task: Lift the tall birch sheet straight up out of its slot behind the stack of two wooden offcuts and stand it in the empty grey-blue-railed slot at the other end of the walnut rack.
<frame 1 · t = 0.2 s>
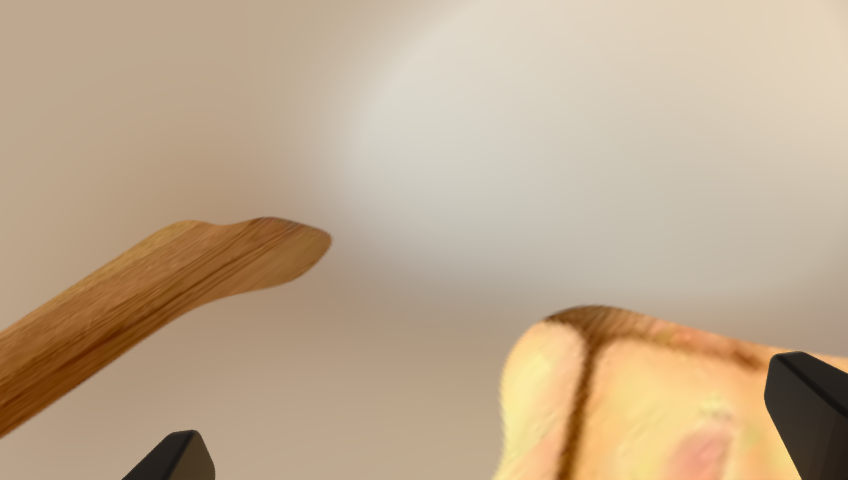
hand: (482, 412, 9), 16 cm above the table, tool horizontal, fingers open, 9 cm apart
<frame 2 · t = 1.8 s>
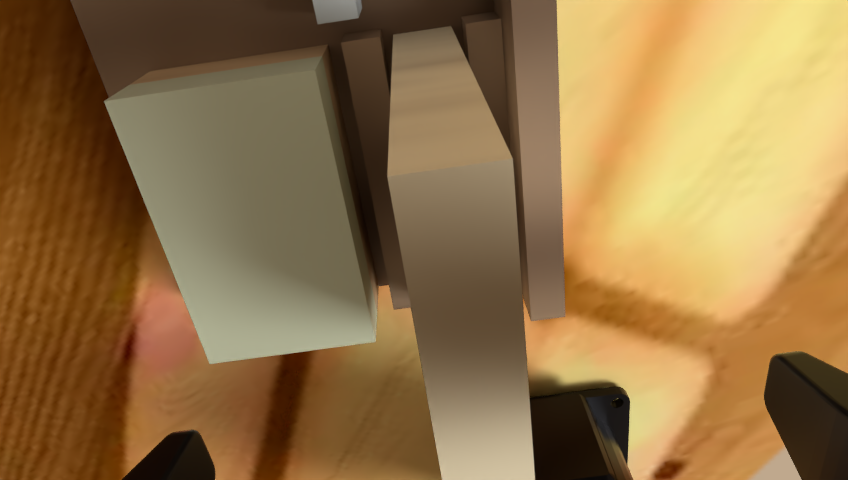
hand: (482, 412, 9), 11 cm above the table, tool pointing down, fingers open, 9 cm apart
oak offcut: (275, 189, 18), point 1 cm above the table, touching sage offcut, walnut rack
birch sheet: (440, 165, 18), point 1 cm above the table, touching walnut rack
sage offcut: (266, 210, 17), point 2 cm above the table, touching oak offcut
walnut rack: (314, 21, 17), on the table
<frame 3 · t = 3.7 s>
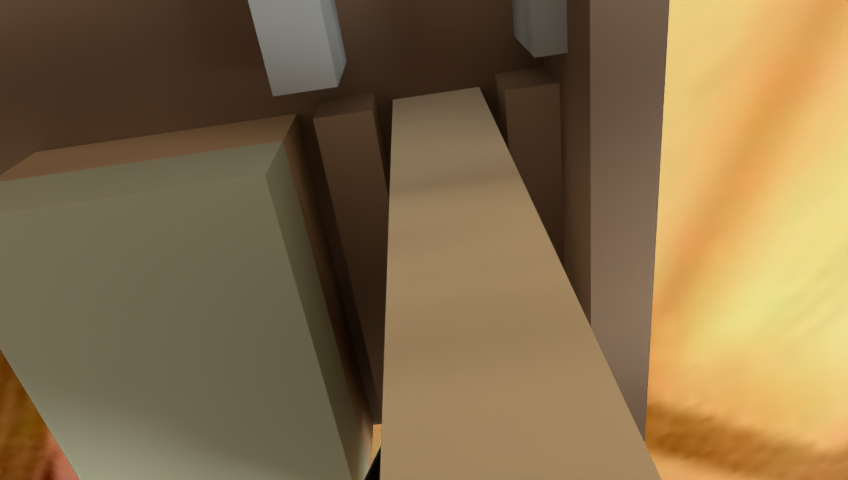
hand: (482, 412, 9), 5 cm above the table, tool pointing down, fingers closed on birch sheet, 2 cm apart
oak offcut: (227, 307, 13), point 1 cm above the table, touching sage offcut, walnut rack
birch sheet: (459, 275, 13), point 1 cm above the table, touching gripper, walnut rack
sage offcut: (208, 351, 12), point 2 cm above the table, touching oak offcut
walnut rack: (278, 77, 12), on the table
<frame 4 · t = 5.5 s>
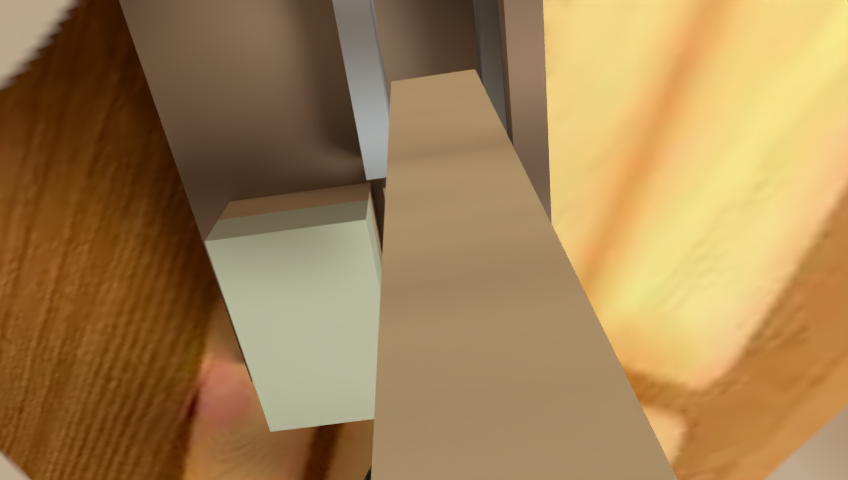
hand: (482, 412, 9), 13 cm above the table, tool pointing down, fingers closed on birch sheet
oak offcut: (323, 288, 23), point 1 cm above the table, touching sage offcut, walnut rack
birch sheet: (456, 256, 13), point 9 cm above the table, touching gripper
sage offcut: (319, 310, 21), point 2 cm above the table, touching oak offcut
walnut rack: (358, 160, 21), on the table
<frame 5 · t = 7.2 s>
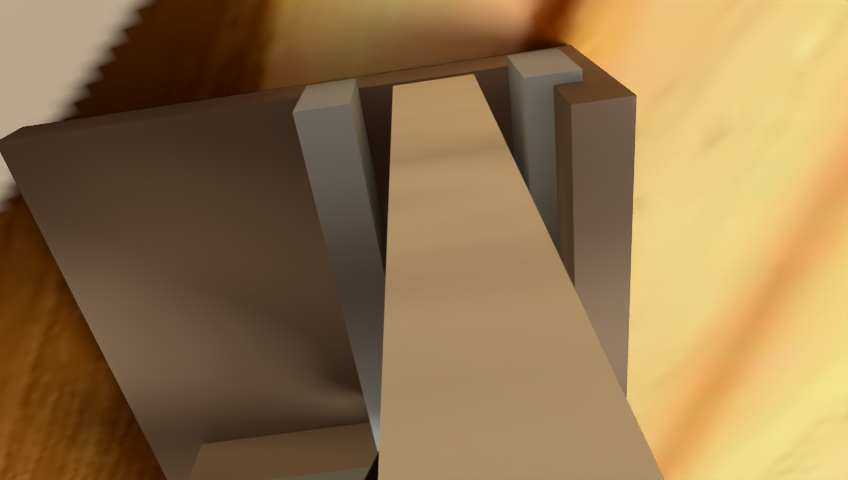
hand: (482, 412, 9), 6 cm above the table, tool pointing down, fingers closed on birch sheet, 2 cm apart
birch sheet: (455, 254, 14), point 1 cm above the table, touching gripper
walnut rack: (365, 383, 17), on the table
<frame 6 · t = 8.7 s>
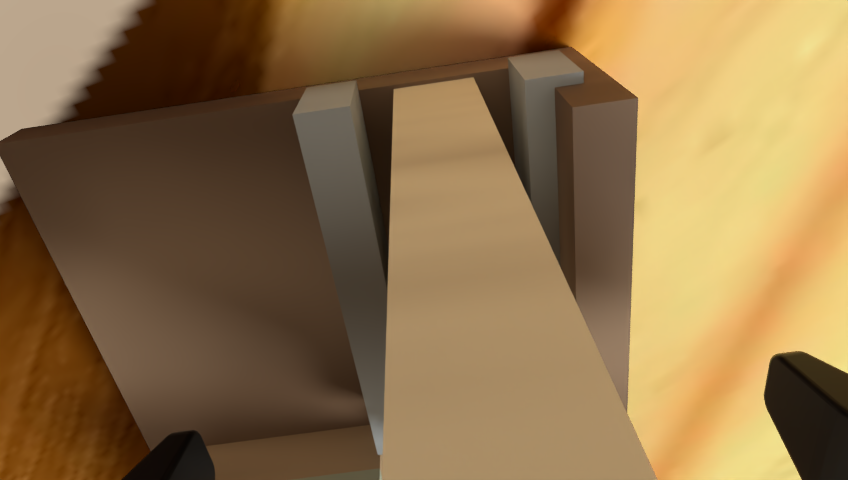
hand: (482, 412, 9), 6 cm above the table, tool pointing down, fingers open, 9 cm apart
birch sheet: (455, 255, 14), point 1 cm above the table, touching walnut rack
walnut rack: (365, 386, 17), on the table
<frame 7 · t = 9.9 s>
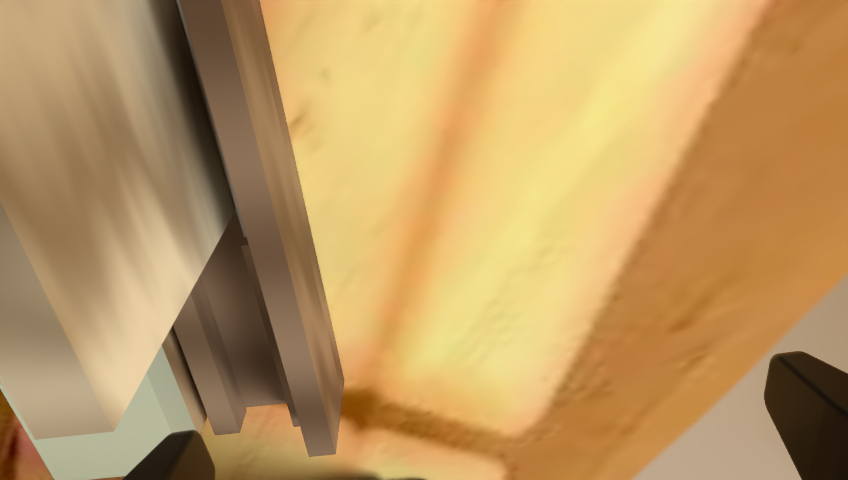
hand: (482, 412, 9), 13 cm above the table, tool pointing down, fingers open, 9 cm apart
oak offcut: (117, 342, 23), point 1 cm above the table, touching sage offcut, walnut rack
birch sheet: (177, 100, 19), point 1 cm above the table, touching walnut rack
sage offcut: (100, 367, 22), point 2 cm above the table, touching oak offcut
walnut rack: (141, 221, 22), on the table
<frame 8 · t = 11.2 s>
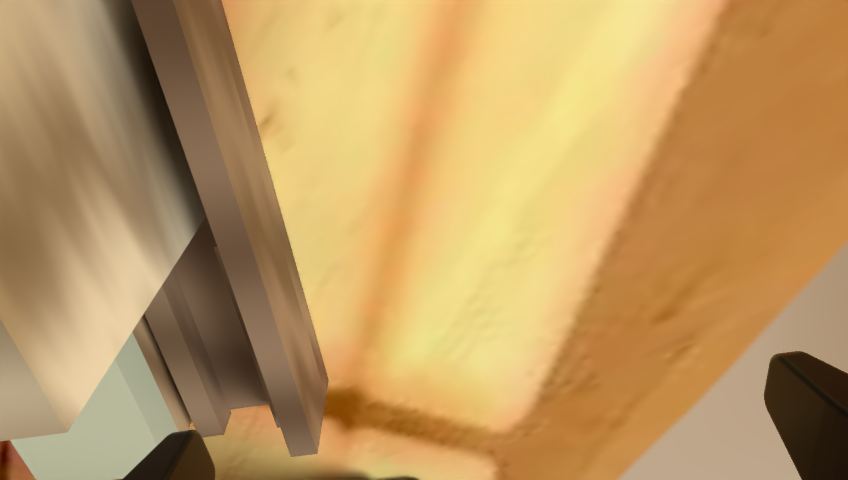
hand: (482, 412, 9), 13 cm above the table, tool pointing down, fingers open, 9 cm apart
oak offcut: (99, 347, 23), point 1 cm above the table, touching sage offcut, walnut rack
birch sheet: (143, 104, 19), point 1 cm above the table, touching walnut rack
sage offcut: (81, 373, 22), point 2 cm above the table, touching oak offcut
walnut rack: (118, 226, 22), on the table
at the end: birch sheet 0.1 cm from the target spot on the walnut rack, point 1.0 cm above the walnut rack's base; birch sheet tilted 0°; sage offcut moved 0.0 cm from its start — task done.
